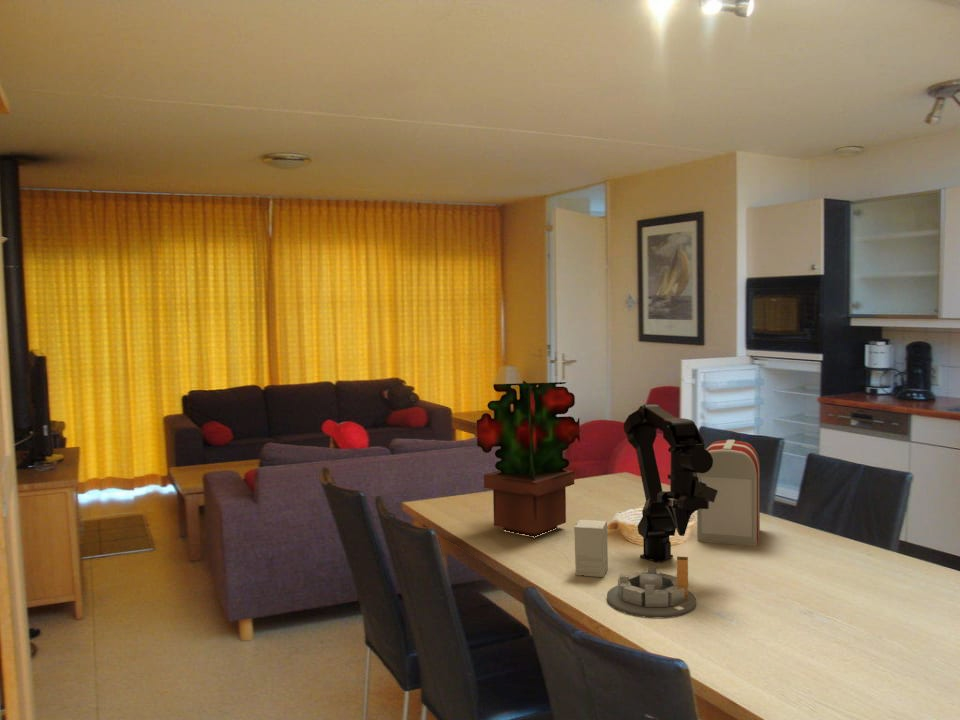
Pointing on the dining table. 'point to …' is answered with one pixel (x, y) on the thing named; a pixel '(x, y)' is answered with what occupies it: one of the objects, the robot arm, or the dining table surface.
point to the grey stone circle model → (637, 610)
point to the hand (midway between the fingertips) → (681, 535)
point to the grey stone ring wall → (671, 587)
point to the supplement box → (591, 548)
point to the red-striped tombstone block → (731, 495)
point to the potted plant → (529, 455)
